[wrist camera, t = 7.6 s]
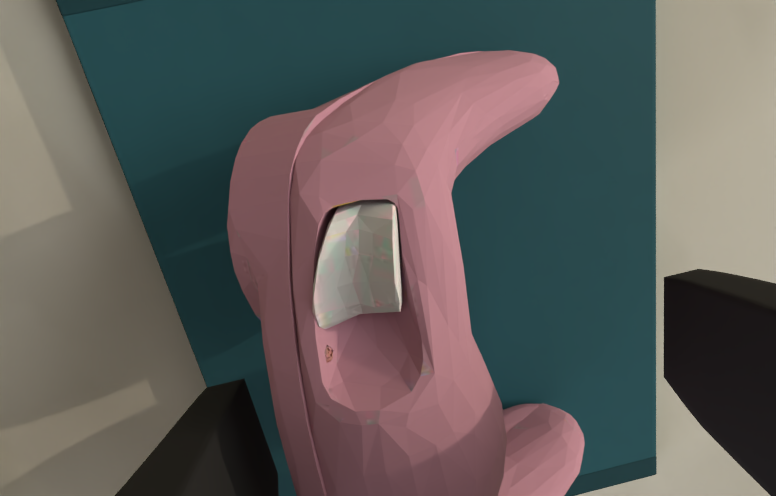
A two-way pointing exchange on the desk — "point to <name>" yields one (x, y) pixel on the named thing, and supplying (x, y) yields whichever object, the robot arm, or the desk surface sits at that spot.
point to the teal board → (469, 193)
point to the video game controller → (388, 287)
